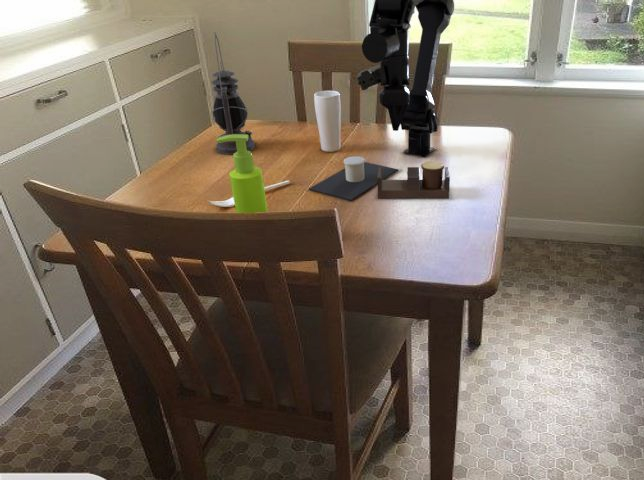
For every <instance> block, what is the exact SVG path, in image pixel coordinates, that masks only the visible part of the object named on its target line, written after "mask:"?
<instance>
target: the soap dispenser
mask: <svg viewBox="0 0 644 480" xmlns="http://www.w3.org/2000/svg"><path fill="white" fill-rule="evenodd" d="M218 137H219V136H218ZM218 137H217V139H216V142H217V143H222V142H227V141H236V147H237V152H236V153H234V154H233V155H232V157H233V162H234V163H233V164H234V168H233V170H230V171H229V173H228V175H229V180H230V187H231V192H232V197H234V203H235V206H234V207H235V213H255V212H268V213H269V209H268V201H267V197H266V196H267V195H266V191H265V189H264V187H265V182H264V176H263V170H262V168H260V167H259V166H255V164H254V162H255V161H254V155H253V152H252V151H247V148H246V142H245V141H248V138H249V137H248V135H243V134H232V135H226V136H222V137H219V138H218Z"/></svg>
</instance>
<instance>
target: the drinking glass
mask: <svg viewBox="0 0 644 480" xmlns="http://www.w3.org/2000/svg"><path fill="white" fill-rule="evenodd" d="M313 98H314V99H313V102H314V103H313V104H314V113H315V118H316V123H317V128H318V129H317V130H318V135H319V141H320V149H321V150H322V151H323V152H326V153H333V152H334V153H335V152H338V151H339V150H340V149H342V146H341V145H342V144H341V128H342V127H341V122H342V121H341V120H342V105H341V103H342V102H341V94H340V92H339V91H337V90H320V91H316V92H315V93H314V94H313Z"/></svg>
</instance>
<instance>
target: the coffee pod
mask: <svg viewBox="0 0 644 480" xmlns="http://www.w3.org/2000/svg"><path fill="white" fill-rule="evenodd" d="M365 162H366V159H365V158H364V157H362V156H359V155H358V156H357V155H356V156H355V155H354V156H348V157H346V158H344V159H343V164H344V169H345V171H346V180H347V181H349V182H360V181H363V180H364V163H365Z"/></svg>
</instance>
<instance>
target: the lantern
mask: <svg viewBox="0 0 644 480" xmlns="http://www.w3.org/2000/svg"><path fill="white" fill-rule="evenodd" d="M213 35H214V48H215V55H216V61H217V68H218V69H217V70H218V71H215V72H214V73H213V74H212V77H214V78H216V79H213V80H211V81H210V82H211V83H210V84H211V85H213V91H214V92H216V94H215V95H214V98H215V99H214V102H213V105H212V108H213V109H212V117H213V118H212V119H213V121H214V123H215V124H216V125H217V126H218V127H219V129H220V130H222V131H224V133H222V134H221V135H219V136H218V137H217V139H218V138H219V137H222V136H226V135H232V134H243V135H248V137H249V138H248V141H245V142H246V148H247V151H250V152H252V151H253V150H254V149H255V148H256V144H255V141H254V139H253V138H252V134H253V132H252V131H250V130H245V131H242V130H244V127H245V126H246V121H247V119H248V114H249V113H248V109H247V106H246V104H245V102H243V100H242V98H241V97H240V93H239V92H237V90H238V89H239V85H238V84H237V83H238V82H239V79H237V78H234V77H232V76H235V75H236V73H235V72H234V71H231V70H225V66H224V62H223V58H222V52H221V47H220V42H219V38H218V35H217V33H216V32H214V34H213ZM217 46H218V48H217ZM218 52H219V53H218ZM218 54H219V55H218ZM219 57H220V62H219ZM220 68H221V69H220ZM220 70H221V71H220ZM215 146H216V148H215V151H216V152H217V153H219V154H221V155H229V156H231V155H232V156H233V154H234V153H236V152H237V147H236V141H227V142H222V143H218V142H217V143H216V144H215Z"/></svg>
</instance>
